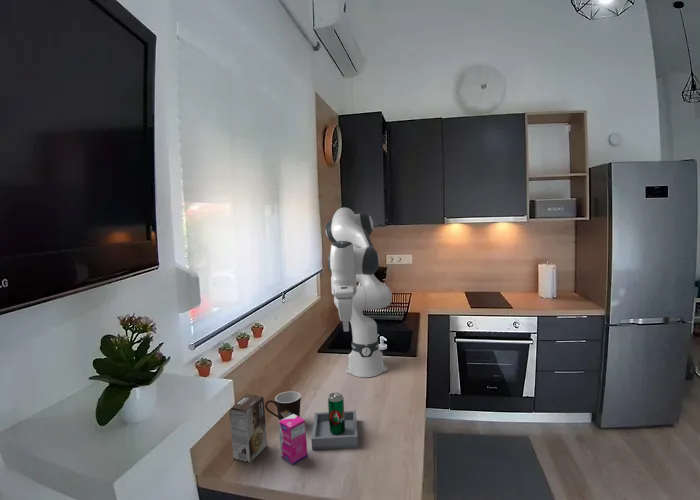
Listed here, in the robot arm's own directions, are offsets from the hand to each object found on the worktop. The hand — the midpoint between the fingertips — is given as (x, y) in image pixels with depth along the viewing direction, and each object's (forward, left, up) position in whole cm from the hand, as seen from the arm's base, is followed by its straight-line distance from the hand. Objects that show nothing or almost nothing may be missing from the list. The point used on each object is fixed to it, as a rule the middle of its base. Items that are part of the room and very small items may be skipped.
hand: (346, 327), depth 140 cm
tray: (+14, -5, -31) cm, 34 cm away
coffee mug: (+6, -22, -31) cm, 39 cm away
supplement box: (+25, -17, -31) cm, 44 cm away
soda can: (+14, -4, -30) cm, 34 cm away
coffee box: (+21, -31, -31) cm, 49 cm away
